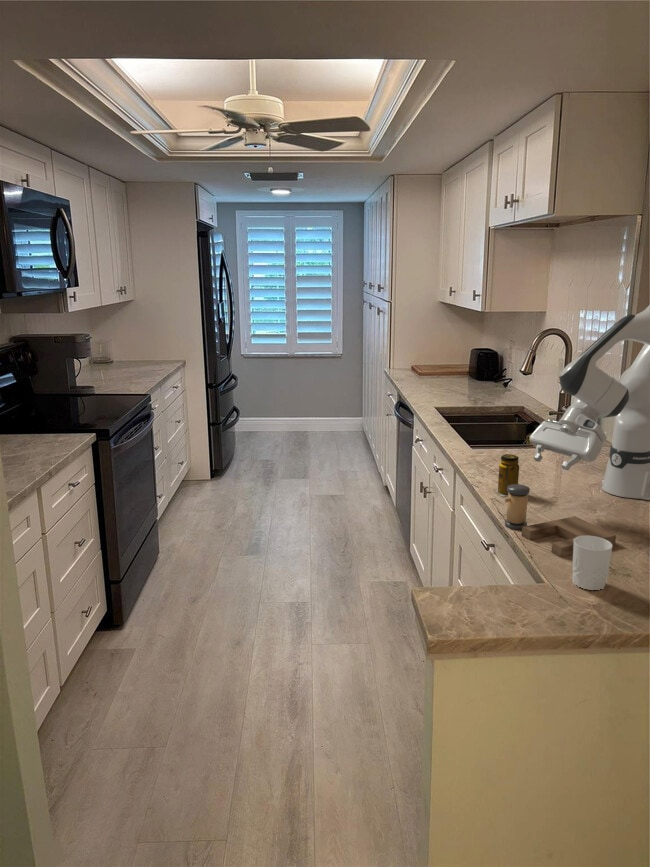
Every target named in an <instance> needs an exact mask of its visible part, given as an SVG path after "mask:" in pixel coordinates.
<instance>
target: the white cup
mask: <svg viewBox="0 0 650 867" xmlns="http://www.w3.org/2000/svg"><path fill="white" fill-rule="evenodd" d="M613 547H614V545H612V543H611V542H609V541H608V540H606V539H603V538H600V537H596V536H578V537H576V538H574V544H573V554H572V578H571V581H572V583H573V585H574V584H575V586H576V585H577V586H578V587H577V586H576V587H577V588H579V587H581V588H584V589H590V590H599V591H601V590H600V589H602V590H604V589H605V586H606V583H607V577H608V574H609V570H610V565H611V564H610V563H611V559H612V551H613ZM581 588H580V589H581ZM584 589H583V590H584Z"/></svg>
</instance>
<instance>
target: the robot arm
mask: <svg viewBox="0 0 650 867" xmlns="http://www.w3.org/2000/svg"><path fill="white" fill-rule="evenodd" d="M622 341H631V342H635V343H636V342H637V343H640V344H643V346H642V348H641V349H640V351H639V353H638V355H637V356H636V358H635V359H634V360H633V362H632V364H631V366H630V367H629V368H627V369H626V370H625V371H623V373H622V374H621V376H620V377H619V380H617V379H615V378H614V377H612V376H611V375H610V374H608V373H607V372H605V371H604V370H602V369H601V368H599V367H598V366H597V365H596V364H597V362H599V360H600V359H601V358H603V356H604V355H605V354H607V352H609V351H610V350H611V349H612V348H613V347H615V345H616V344H618V343H620V342H622ZM558 378H559V379H558V380H559V383H560V387H561V390H562V391H564V392H565V393H567V394H569V395H570V396H572V397H574V398H573V402H572V404H571V405H569V406H568V407H567V409H566V410H565V412H564V413H563V415H562V416H561V418H559V420H554V419H551V418H549V419H547V420H543V421H542V422H541V423H540V424H539V425H538V427H536V428H535V430H534V431H533V432H532V433H531V434H530V436H529V441H530V443H531V444H532V445H533V447H535V455H533V460H534V461H535V462H541V461H542V459H543V458H544V457H543V456H542V453H544V451H545V450H546V451H549V452H552V453H556V454H560V455H563V456H568V457H571V458H570V459H568V460H567V461H566V460H564V461H563V463H562V464H561V468H562V469H563V470H565V471H570V469H571V467H572V466H574V465H576V464H578V463H579V462H580V461H581V460H582V461H585V462H588V463H591V462H594V461H595V460H596V459H598V458H597V457H598V456H599V455H600V452H602V449H603V445H604V444H603V443H604V442H606V440H607V435H606V433H605V431H604V430H603V428H602V427H601V425H600V424H599V423H598V420H599V419H600V418H602V419H603V418H604V419H605V418H611V417H614V426H613V435H612V444H611V445H610V446H609V447H610V449H609V451H608V452H609V454H608V455H609V456H608V457H609V459H608V460H607V463H606V464H607V465H606V469H605V472H604V477H603V479H602V478H601V479H602V480H601V484H602V486H601V489H602V490H603V491H604V492H606V493H607V494H611V495H613V496H617V497H621V498H622V497H623V498H628V499H640V500H646V501H650V304H649V305H648V306H647V307H646V308H645V309H644V310H642V311H641V312H639V313H636V314H630V313H629V314H627V315H625V316H624V317H622V318H620V319H619V320H618V321H617V322H615V323H614V324H612V326H611V327H610V328H609V329H607V330H606V331H605V332H604V333H603V334H602V335H601V336H600V337H599V338H598V339H596V341H594V342H593V343H592V344H591V345H590V346H589V347H587V348H586V349H585V351H583V352H582V353H581V354H580V355H579V356H578V357H577V358H575V359H574V360H572V361H571V362H569V363H568V364H566V366H565V367H564V368H563V370H562V371H561V372H560V375H559V377H558Z"/></svg>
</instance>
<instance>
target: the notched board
mask: <svg viewBox="0 0 650 867" xmlns="http://www.w3.org/2000/svg"><path fill="white" fill-rule="evenodd" d="M554 535H557V536H559V537H561V538H563V539H564V540H560V541H554V542H552V543H551V551H550V552H551V553H552V554H554V555H555V554H556V556H557V557H559V558H562V557H566V556H571V555H573V544H574V538H576V537H578V536H596V537H600V538H603V539H606V540H608V541H609V542H611V543H612V545H613V546H614V545H616V539H617V535H616V534H614V533H613V532H610V531H608V530H605V529H603V528H602V527H599V526H597V525H595V524H593V523H591V522H588V521H586V520H583V519H582V518H579V517H578V516H576V515H575V516H569V517H565V518H559V519H555V520H551V521H545V522H539V523H536V524H535V523H534V524H530V525H527V526H524V527H522V530H521V537H523V538H524V539H527V540H529V541H531V540H536V539H541V538H545V537H550V536H554Z"/></svg>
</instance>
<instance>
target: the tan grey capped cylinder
mask: <svg viewBox="0 0 650 867" xmlns="http://www.w3.org/2000/svg"><path fill="white" fill-rule="evenodd" d="M530 490H531V488H530V487H529V486H527V485H523V484H519V483H518V484H513V485H509V486H508V487H507V491H508V496H507V498H505V499H504V503H507V505H506V506H507V510H506V519H505V521H504V527H506V528H507V529H510V530H514V531H522V527H524V526H528V522H527V512H528V497H529V494H530V492H531V491H530Z"/></svg>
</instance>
